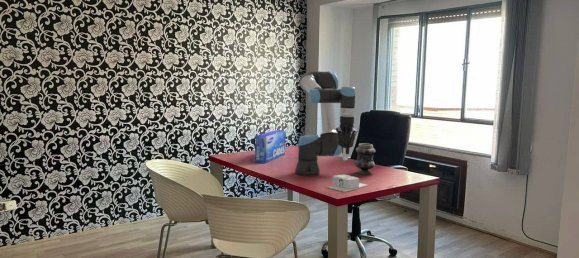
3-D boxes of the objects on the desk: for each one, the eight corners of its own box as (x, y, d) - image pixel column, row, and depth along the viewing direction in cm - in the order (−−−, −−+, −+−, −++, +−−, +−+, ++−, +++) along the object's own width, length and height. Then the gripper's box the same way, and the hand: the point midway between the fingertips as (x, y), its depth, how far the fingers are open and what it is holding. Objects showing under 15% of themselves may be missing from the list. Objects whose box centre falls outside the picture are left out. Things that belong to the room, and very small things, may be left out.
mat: (328, 188, 231) (328, 186, 231) (351, 182, 245) (351, 181, 245) (345, 192, 224) (345, 190, 223) (367, 185, 238) (367, 184, 238)
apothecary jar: (378, 173, 270) (379, 144, 268) (366, 176, 262) (367, 146, 260) (362, 170, 279) (363, 142, 277) (350, 172, 270) (351, 143, 268)
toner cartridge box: (265, 163, 294) (266, 136, 292) (254, 162, 297) (254, 135, 295) (285, 154, 330) (286, 130, 328) (275, 153, 333) (275, 129, 331)
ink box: (344, 173, 241) (359, 177, 232) (343, 182, 242) (359, 187, 232) (332, 175, 236) (348, 179, 227) (332, 184, 236) (347, 189, 227)
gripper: (333, 115, 234) (331, 158, 237) (352, 117, 225) (350, 162, 228) (341, 114, 239) (339, 156, 242) (361, 116, 230) (359, 160, 233)
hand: (345, 159), depth 235 cm, fingers closed
